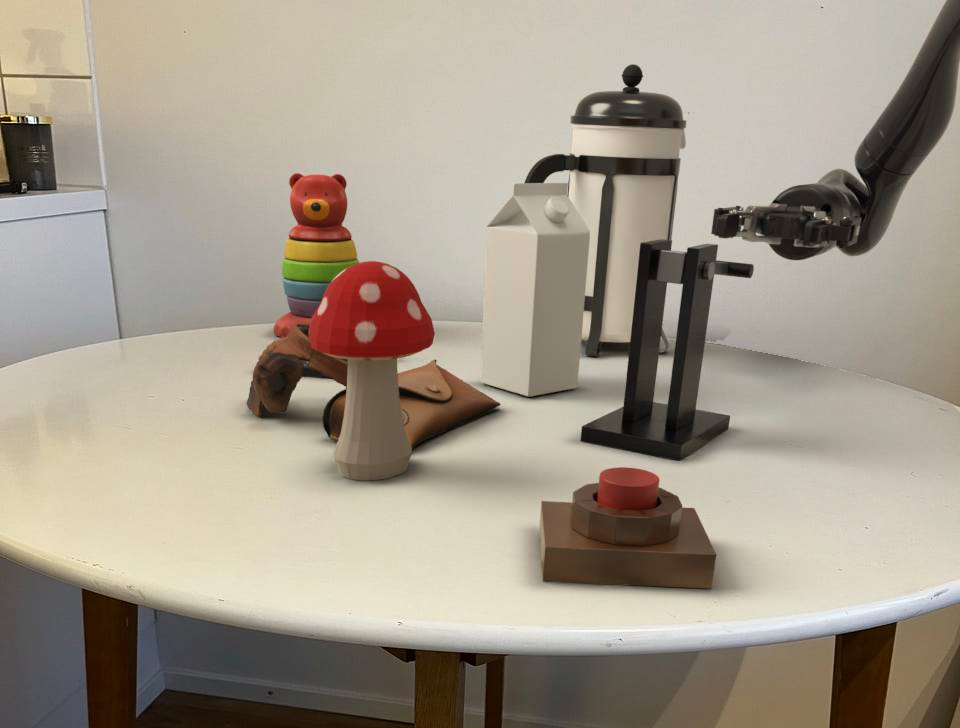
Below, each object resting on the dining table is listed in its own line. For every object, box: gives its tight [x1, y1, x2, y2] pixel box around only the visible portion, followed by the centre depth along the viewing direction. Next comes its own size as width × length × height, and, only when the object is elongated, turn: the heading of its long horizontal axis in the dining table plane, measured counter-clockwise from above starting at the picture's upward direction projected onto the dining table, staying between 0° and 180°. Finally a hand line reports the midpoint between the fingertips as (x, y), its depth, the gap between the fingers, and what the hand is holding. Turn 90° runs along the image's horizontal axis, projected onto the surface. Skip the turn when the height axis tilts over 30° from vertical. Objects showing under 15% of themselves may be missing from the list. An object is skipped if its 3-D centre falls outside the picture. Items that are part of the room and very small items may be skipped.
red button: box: [597, 466, 660, 511], centre depth 62 cm, size 4×4×2 cm
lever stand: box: [580, 239, 731, 461], centre depth 86 cm, size 12×9×16 cm
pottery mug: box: [246, 326, 348, 418], centre depth 90 cm, size 12×10×8 cm
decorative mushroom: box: [308, 260, 436, 481], centre depth 74 cm, size 10×9×15 cm
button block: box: [538, 482, 717, 590], centre depth 63 cm, size 10×8×4 cm
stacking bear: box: [273, 172, 360, 338], centre depth 121 cm, size 11×10×18 cm
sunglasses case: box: [322, 359, 501, 449], centre depth 89 cm, size 18×7×7 cm
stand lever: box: [656, 250, 755, 285], centre depth 87 cm, size 14×5×2 cm, turn 148°
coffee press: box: [524, 63, 688, 358], centre depth 116 cm, size 17×16×30 cm
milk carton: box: [480, 182, 590, 398], centre depth 99 cm, size 7×7×19 cm
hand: (764, 230), depth 100 cm, fingers open, 8 cm apart
